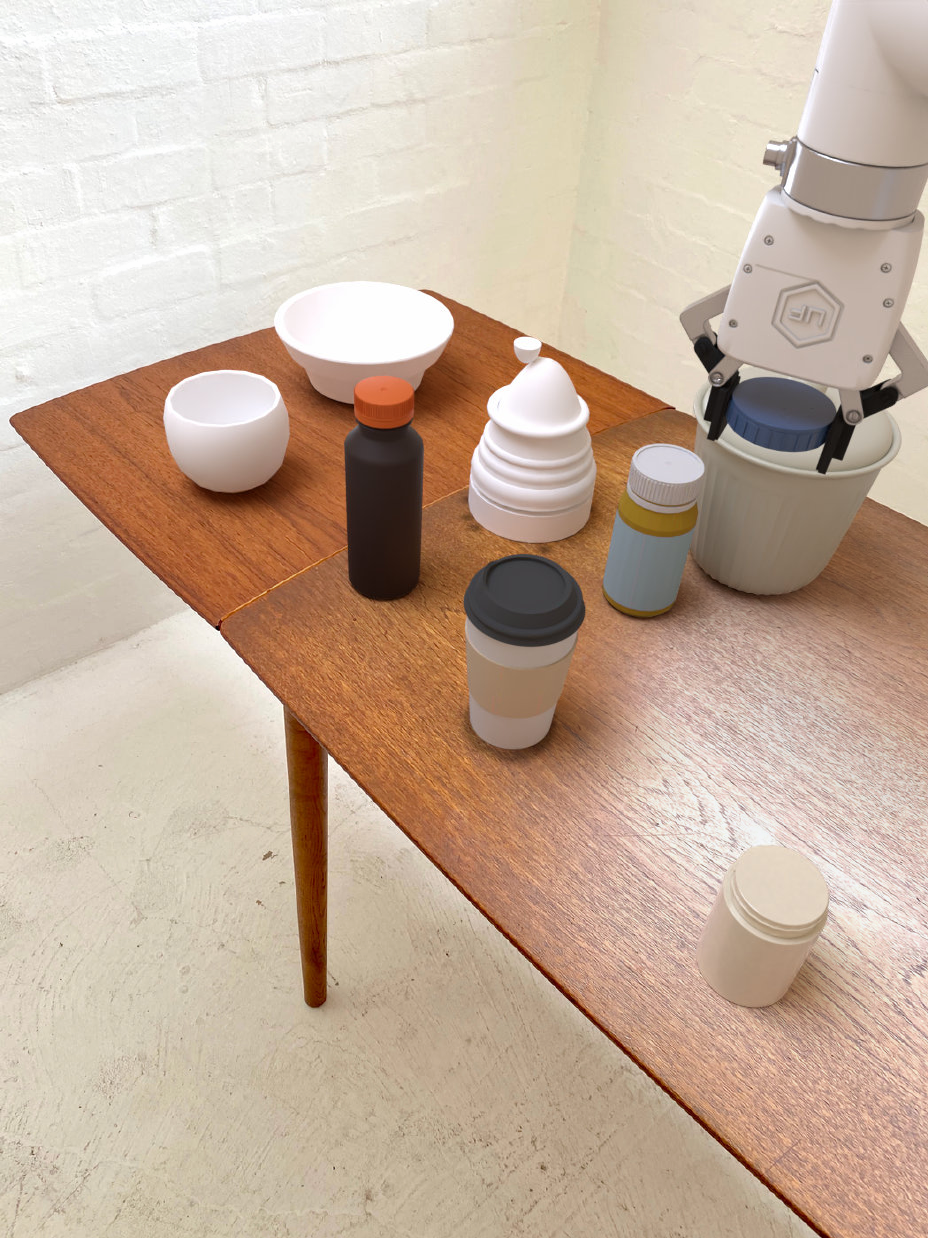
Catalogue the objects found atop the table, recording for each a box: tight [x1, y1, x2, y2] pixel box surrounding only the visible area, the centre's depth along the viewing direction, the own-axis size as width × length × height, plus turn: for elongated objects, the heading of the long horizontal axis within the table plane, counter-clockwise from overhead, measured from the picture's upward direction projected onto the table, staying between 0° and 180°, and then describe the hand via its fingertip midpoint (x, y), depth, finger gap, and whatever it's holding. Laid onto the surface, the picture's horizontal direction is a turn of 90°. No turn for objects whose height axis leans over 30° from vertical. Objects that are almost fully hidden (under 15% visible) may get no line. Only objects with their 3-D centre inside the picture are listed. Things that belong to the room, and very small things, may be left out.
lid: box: [725, 377, 837, 452], centre depth 66 cm, size 7×7×2 cm
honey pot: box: [467, 336, 598, 544], centre depth 97 cm, size 13×13×18 cm
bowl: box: [273, 281, 455, 405], centre depth 118 cm, size 21×21×8 cm
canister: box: [689, 366, 903, 596], centre depth 91 cm, size 18×18×21 cm
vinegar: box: [343, 376, 425, 600], centre depth 86 cm, size 7×7×20 cm
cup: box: [162, 369, 291, 494], centre depth 101 cm, size 12×12×10 cm
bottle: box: [601, 443, 705, 618], centre depth 88 cm, size 7×7×15 cm
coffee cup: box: [462, 553, 587, 750], centre depth 76 cm, size 9×9×15 cm
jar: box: [695, 844, 830, 1008], centre depth 63 cm, size 6×6×10 cm
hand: (770, 445), depth 67 cm, fingers closed on lid, 6 cm apart
